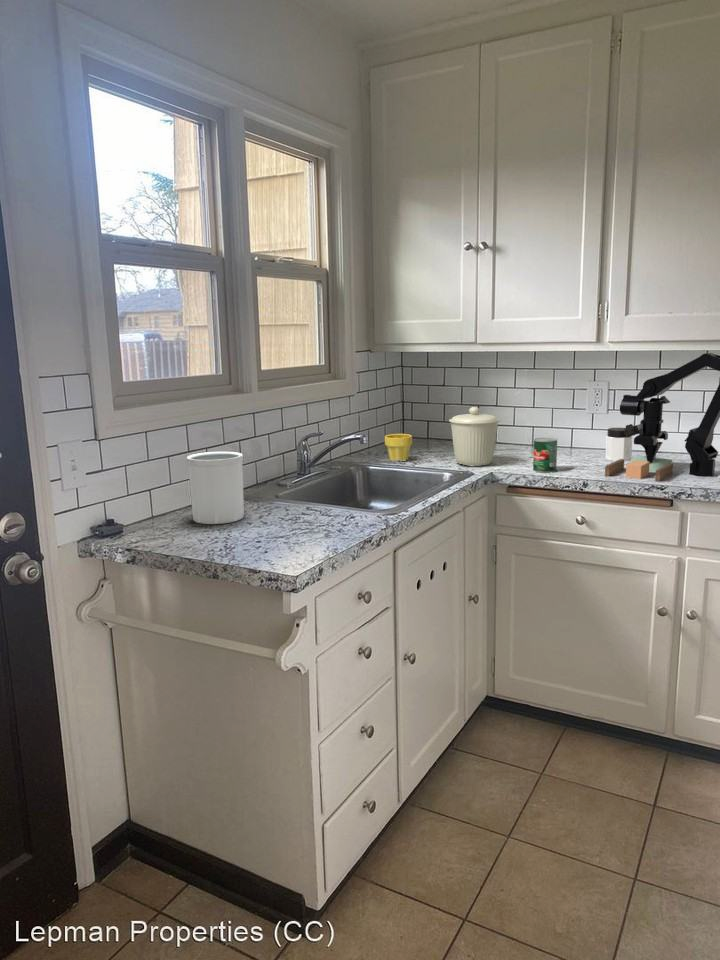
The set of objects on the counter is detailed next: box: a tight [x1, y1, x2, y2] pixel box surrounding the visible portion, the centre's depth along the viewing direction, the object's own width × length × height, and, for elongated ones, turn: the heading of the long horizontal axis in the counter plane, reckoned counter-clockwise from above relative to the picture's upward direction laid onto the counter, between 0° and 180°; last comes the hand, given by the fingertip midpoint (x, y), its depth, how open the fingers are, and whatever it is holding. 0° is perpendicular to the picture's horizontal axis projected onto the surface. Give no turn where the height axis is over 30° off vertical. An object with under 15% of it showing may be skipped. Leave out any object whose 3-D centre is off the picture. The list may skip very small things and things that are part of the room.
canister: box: [448, 406, 500, 467], centre depth 264 cm, size 18×18×21 cm
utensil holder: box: [186, 451, 245, 525], centre depth 197 cm, size 15×15×18 cm
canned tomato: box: [532, 437, 558, 474], centre depth 250 cm, size 8×8×11 cm
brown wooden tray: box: [604, 459, 674, 483], centre depth 234 cm, size 18×15×4 cm
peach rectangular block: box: [625, 461, 650, 480], centre depth 233 cm, size 5×9×4 cm, turn 143°
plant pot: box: [384, 433, 413, 461], centre depth 276 cm, size 10×10×10 cm
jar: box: [604, 427, 633, 462], centre depth 262 cm, size 9×8×12 cm
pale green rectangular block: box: [629, 455, 673, 473], centre depth 242 cm, size 13×1×6 cm
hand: (649, 463), depth 242 cm, fingers closed, pressing on pale green rectangular block
